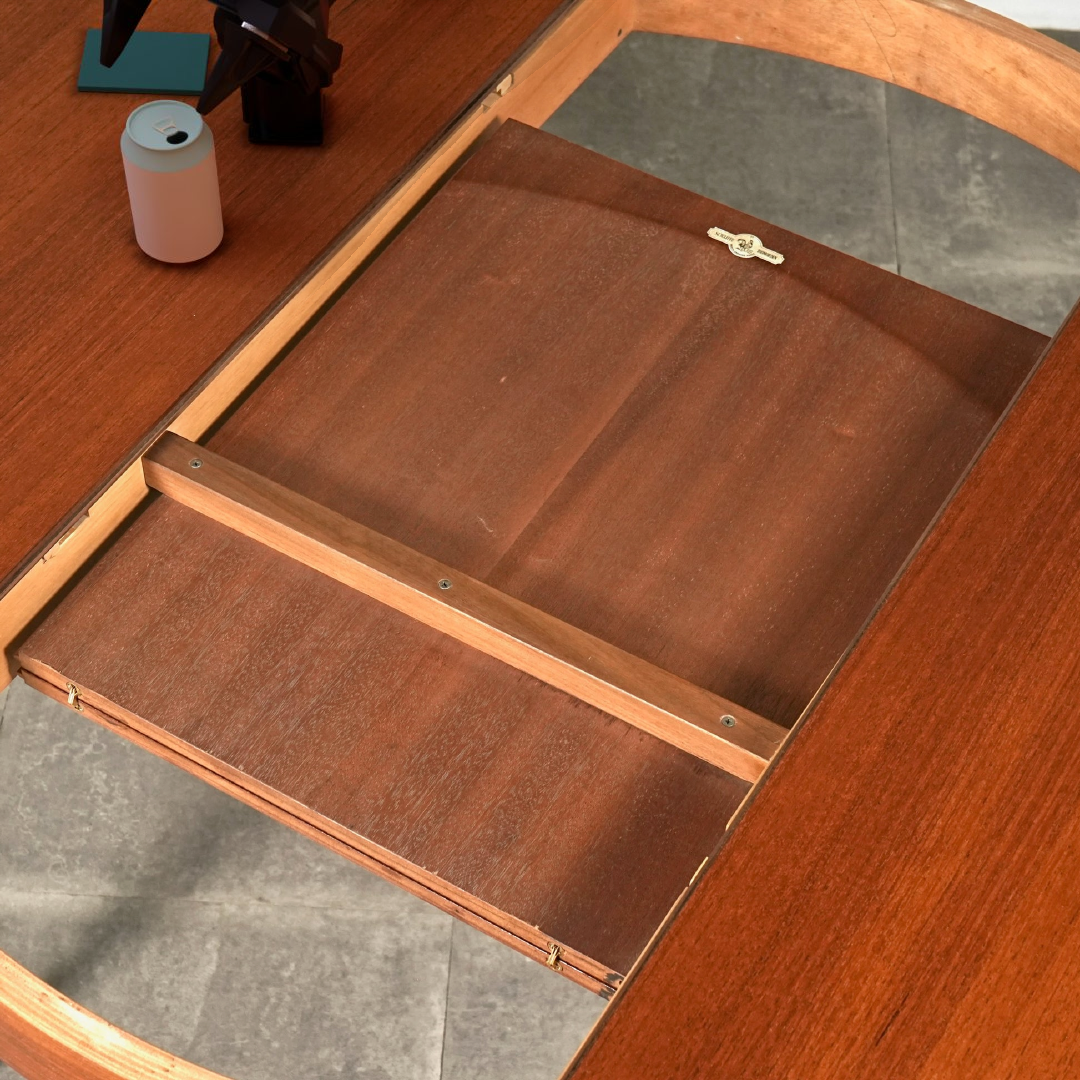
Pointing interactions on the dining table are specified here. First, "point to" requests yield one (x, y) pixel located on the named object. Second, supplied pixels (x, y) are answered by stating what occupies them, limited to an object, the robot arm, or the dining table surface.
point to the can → (172, 181)
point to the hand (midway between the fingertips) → (152, 89)
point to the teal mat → (148, 64)
